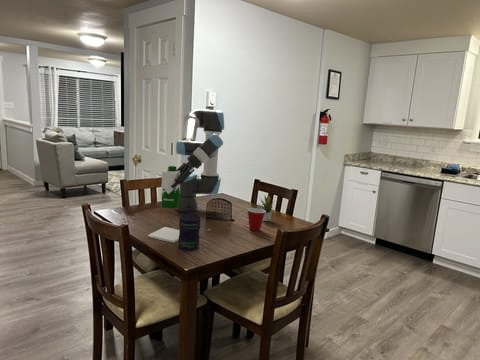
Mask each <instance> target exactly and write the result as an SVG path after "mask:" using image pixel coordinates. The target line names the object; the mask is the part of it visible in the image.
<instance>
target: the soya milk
mask: <svg viewBox="0 0 480 360" xmlns="http://www.w3.org/2000/svg"><path fill="white" fill-rule="evenodd" d="M179 176H180V171H178V170H177V166H175V165H169V166H167V169H164V170H162V172H161V185H162V187H161V193H160V194H161V208H162V209H174V210H176V208H177V207H178V205H179V199H180V184H179V185H178V186H177V187H176V188H175V189H173V190H172V191H171V192H170V193H169V194H168V193H167V192H166V191H165V189H166V188H167V187H168V186H169V185H170V184H171V183H172V182H173V181H175V179H177V178H178V177H179ZM175 182H176V181H175Z"/></svg>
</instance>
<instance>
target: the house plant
mask: <svg viewBox="0 0 480 360" xmlns="http://www.w3.org/2000/svg"><path fill="white" fill-rule="evenodd" d="M263 195H264V201H263V200H262V198H261V197H259V196H256V197H258V200H259V201H261V203H262V204H260V203H258V204H257V206H256V207H258V206H259V207H260V209H263V210H265V211H266V213H265V214H264V217H263V220H265V221H268V220H270V221H271V218H272V215H273V209H276V208H274V206H275V204H274V203H275V201H276V200H273V201H272V202H271V197H270V195H267V196H266V195H265V194H263ZM270 203H271V204H270Z"/></svg>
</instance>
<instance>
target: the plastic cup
mask: <svg viewBox="0 0 480 360" xmlns="http://www.w3.org/2000/svg"><path fill="white" fill-rule="evenodd" d="M263 209H264V208H256V207H249V208H246V210H247V217H248V225H249V227H248V228H249V230H250V231H251V230H252V231H251V232H256V231H257V232H260V231H261V227H262V223H263V217H264V214H265V213H266V211H265V210H263ZM259 230H260V231H259Z"/></svg>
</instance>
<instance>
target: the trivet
mask: <svg viewBox="0 0 480 360" xmlns="http://www.w3.org/2000/svg"><path fill="white" fill-rule="evenodd" d="M179 232H180V229H176V228H172V227H167V226H164V227H161V228H160V229H157V230H155V231H153V232H151V233H149V234H148V235H147V237H148V238H151V239H155V240H160V241H163V242H168V243H171V244H172V243H173V244H175V243H176V242H178V239H179V238H178V237H179Z"/></svg>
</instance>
